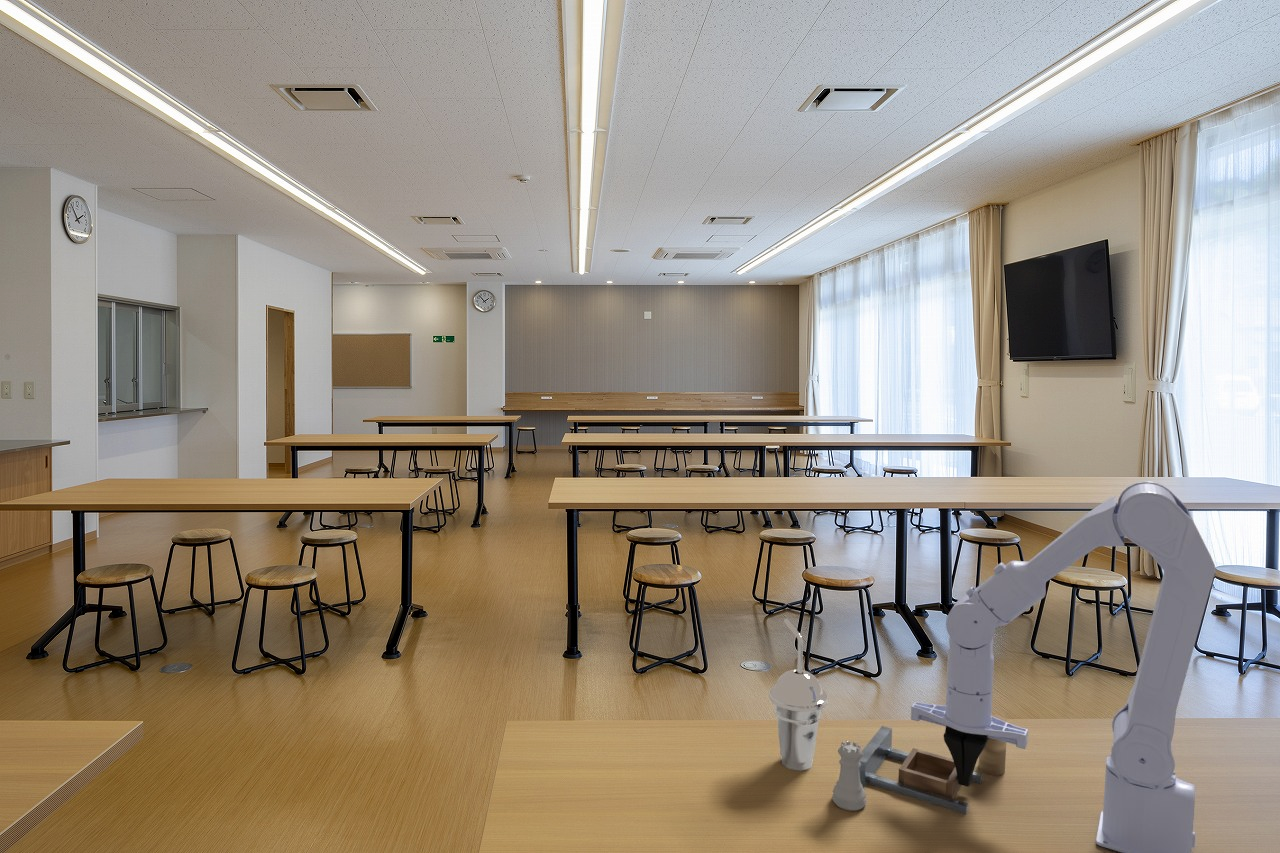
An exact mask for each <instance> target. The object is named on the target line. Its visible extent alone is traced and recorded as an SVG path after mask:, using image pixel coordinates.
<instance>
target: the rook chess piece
mask: <svg viewBox="0 0 1280 853" xmlns="http://www.w3.org/2000/svg"><path fill="white" fill-rule="evenodd" d="M837 752H838V755H839V756H840V759H839V761H838V763H839V764H840V771H839V777H838V780H836V784H835V785H833V790H832V793H833V794H832V795H831V798H832V801H833V803H834V804H835V805H836V806H837V808H840V809H841V810H845V811H848V812H857V811H860V810H862V809H863V808H864V807H865V806H866V805H867V799H866V798H867V793H866V791H865V789H864V786H862V784H861V781H860V773H859V768H860V767H861V763H860V762H859V759H860V758H861V757H862V756H863V752H862V750H861V745H860V744H858V742H856V741H853V742H852V744H851V741H850V740H846V742H845V741H842V742H841V743H840V746H839V748H838V750H837Z"/></svg>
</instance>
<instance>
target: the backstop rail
mask: <svg viewBox="0 0 1280 853" xmlns="http://www.w3.org/2000/svg"><path fill="white" fill-rule="evenodd" d="M892 740H893V728H892V727H889V726H888V727H887V726H885V725H884V726H883V725H881V726H880V728H879V729H878V730H877V731H876V733H875V734H874V735H873V736H872V738H871V739H870V740H869V742H867V744H866V745H865V747H864V748H863V749H862V750H861V751H862V752H863V756H862V757H861V758H860V759H859V762H860V763H861V767H860V768H859V773H860V781H861V784H862V786H863V788H865V787H866V786H867V785H872V786H876V787H878V788H881V789H884V790H887V791H891V792H894V793H897V794H900V795H903V796H904V795H905V796H908V797H910V798H913V799H916V800H920V801H924V802H926V803H929V804H933V805H935V806H939V807H942V808H945V809H947V810H951V811H955V812H958V813H961V814H965V815H967V813H968V811H969V803H968V802H965V801H962V800H958V799H955V798H954V799H952V798H949V797H946V796H943V795H939V794H936V793H933V792H930V791H926V790H923V789H920V788H916V787H913V786H910V785H907V784H903V783H900V782H898V781H895V780H893V779H890V778H887V777H884V776H880V775H877V774H876V772H877V771H878V770H879V769H880V768H881V765H882V764H883V763H884V762H885V760H886V758H891V759H893V760H897V761H901V762H904V761H905V759H906V758H907V756H908V755H909V753H910V752H907V751H903V750H899V749H896V748H892V745H893V744H892ZM982 781H983V774H982V773H981V772H978V771H975V770H974V771H973V775H972V781H971V782H973V783H977V784H979V785H980V784H982Z"/></svg>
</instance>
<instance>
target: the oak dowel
mask: <svg viewBox="0 0 1280 853" xmlns="http://www.w3.org/2000/svg"><path fill="white" fill-rule="evenodd" d="M991 716H992V717H995V718H997V719H1000V720H1002V721H1005V722H1007V723H1008V720H1007V718H1005V717H1004V716H1001V715H999V714H994V713H991ZM1006 752H1007V742H1004V741H1000V740H996V739H992V738H989V739H988V741H987V743H986V745H985V747H984V749H983V751H982V752H981V754H980V755H979V757H978V766H977V767H978V769H979V770H980V771H981V772H983V773H984V774H987V775H991V776H1002V775H1004V774H1005V772H1006V760H1007V759H1006V756H1007V755H1006Z"/></svg>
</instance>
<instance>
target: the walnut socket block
mask: <svg viewBox="0 0 1280 853" xmlns="http://www.w3.org/2000/svg"><path fill="white" fill-rule="evenodd" d="M908 753H909V755H908V756H907V758H906V759H905V761H902V764H901V765H900V767H899V769H898V781H897V782H900V783H903V784H907V785H910V786H913V787H916V788H920V789H923V790H926V791H930V792H933V793H936V794H939V795H943V796H946V797H949V798H952V799H955V797H956V795H957V793H958V791H959V789H960V788H961V785H960V784H958V776H957V772H956V768H955V764H954V761H953V758H952V757H951V758H950V757H946V756H943V755H939V754H936V753H933V752H928V751H925V750H921V749H917V748H914V747H913V748H912V749H911V750H910V752H908Z"/></svg>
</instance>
